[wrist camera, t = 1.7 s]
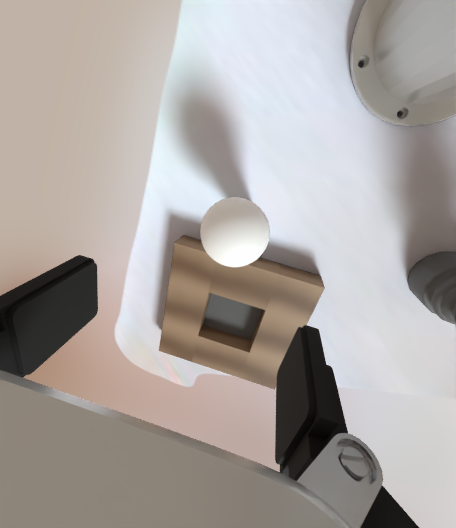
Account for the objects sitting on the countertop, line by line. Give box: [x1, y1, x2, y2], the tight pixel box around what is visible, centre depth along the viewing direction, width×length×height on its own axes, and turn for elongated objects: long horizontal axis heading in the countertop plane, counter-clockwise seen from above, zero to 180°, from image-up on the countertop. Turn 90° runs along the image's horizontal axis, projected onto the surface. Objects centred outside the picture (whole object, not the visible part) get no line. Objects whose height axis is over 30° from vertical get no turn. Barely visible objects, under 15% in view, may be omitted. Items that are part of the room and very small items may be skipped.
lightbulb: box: [200, 197, 270, 267], centre depth 24 cm, size 6×6×11 cm
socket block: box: [159, 235, 325, 389], centre depth 34 cm, size 18×18×3 cm
